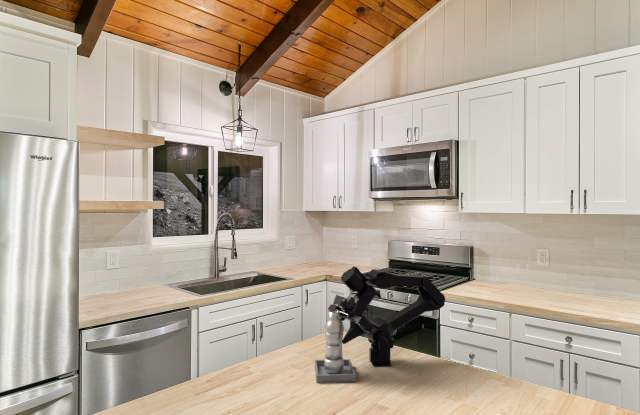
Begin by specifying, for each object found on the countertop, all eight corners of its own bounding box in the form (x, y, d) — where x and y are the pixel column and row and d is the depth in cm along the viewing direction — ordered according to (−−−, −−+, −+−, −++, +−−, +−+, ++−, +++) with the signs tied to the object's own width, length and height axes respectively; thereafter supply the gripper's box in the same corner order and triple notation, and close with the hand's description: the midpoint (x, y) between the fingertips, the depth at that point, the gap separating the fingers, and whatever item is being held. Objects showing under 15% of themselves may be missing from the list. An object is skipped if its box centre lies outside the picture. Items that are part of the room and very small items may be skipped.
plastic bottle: (347, 370, 134) (348, 310, 134) (337, 378, 129) (338, 315, 128) (330, 366, 138) (330, 307, 137) (320, 373, 132) (320, 312, 132)
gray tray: (350, 365, 140) (350, 359, 139) (355, 381, 127) (355, 374, 127) (314, 366, 139) (314, 360, 139) (316, 382, 127) (316, 375, 127)
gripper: (332, 281, 143) (305, 317, 138) (365, 291, 127) (336, 332, 122) (350, 300, 147) (324, 336, 142) (384, 312, 132) (357, 353, 126)
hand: (334, 339), depth 133 cm, fingers open, 9 cm apart
